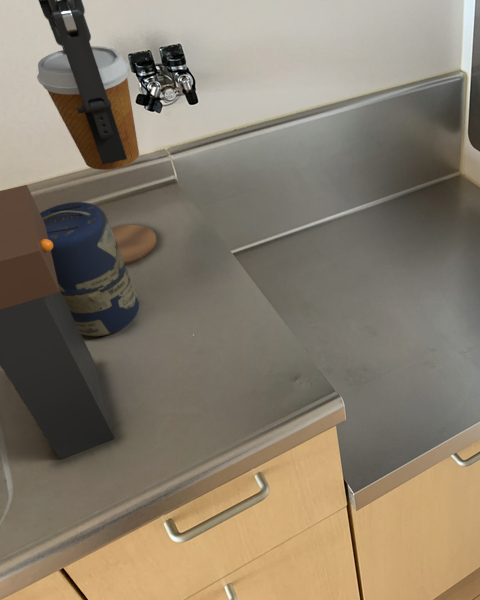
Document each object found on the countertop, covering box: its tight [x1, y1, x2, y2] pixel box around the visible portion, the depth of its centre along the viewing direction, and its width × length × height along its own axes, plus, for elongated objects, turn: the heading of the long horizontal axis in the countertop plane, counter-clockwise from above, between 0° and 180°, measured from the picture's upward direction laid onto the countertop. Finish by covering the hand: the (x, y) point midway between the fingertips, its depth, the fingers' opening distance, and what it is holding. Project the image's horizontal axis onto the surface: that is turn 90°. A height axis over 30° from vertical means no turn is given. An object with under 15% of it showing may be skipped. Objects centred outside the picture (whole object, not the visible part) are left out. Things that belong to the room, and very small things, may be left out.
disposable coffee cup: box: [36, 45, 140, 171], centre depth 72 cm, size 10×10×12 cm
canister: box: [40, 201, 140, 337], centre depth 81 cm, size 10×10×18 cm
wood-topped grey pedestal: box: [0, 184, 116, 460], centre depth 67 cm, size 8×13×27 cm, turn 29°
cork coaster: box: [111, 224, 158, 266], centre depth 100 cm, size 11×11×1 cm
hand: (108, 144), depth 74 cm, fingers closed on disposable coffee cup, 8 cm apart
